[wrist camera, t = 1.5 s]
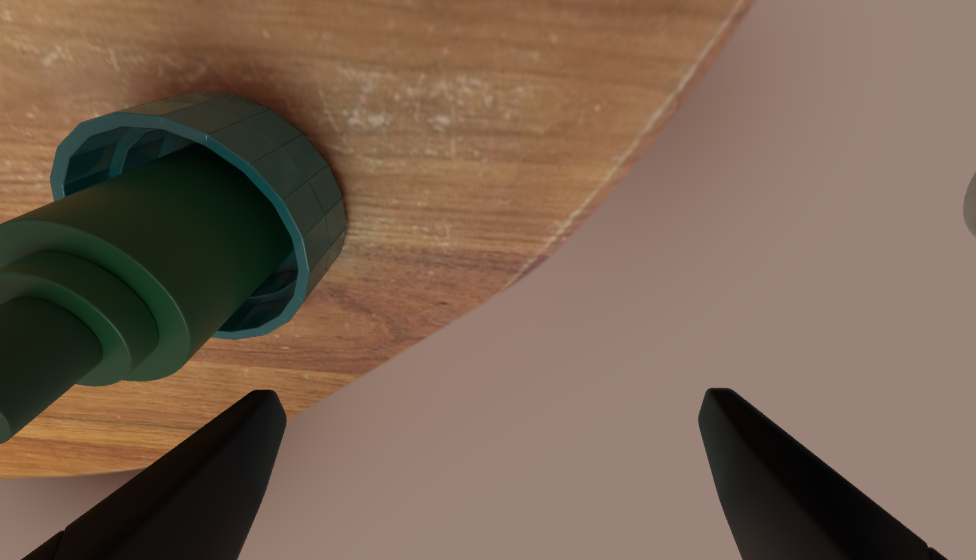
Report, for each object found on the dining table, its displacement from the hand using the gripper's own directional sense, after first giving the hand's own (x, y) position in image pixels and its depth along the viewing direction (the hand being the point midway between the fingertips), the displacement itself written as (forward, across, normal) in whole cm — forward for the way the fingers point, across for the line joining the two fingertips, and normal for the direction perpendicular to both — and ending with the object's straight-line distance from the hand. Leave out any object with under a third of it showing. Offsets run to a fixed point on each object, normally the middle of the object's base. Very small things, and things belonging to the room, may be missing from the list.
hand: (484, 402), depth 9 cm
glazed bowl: (+14, +13, +1) cm, 19 cm away
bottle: (+13, +13, +1) cm, 18 cm away
